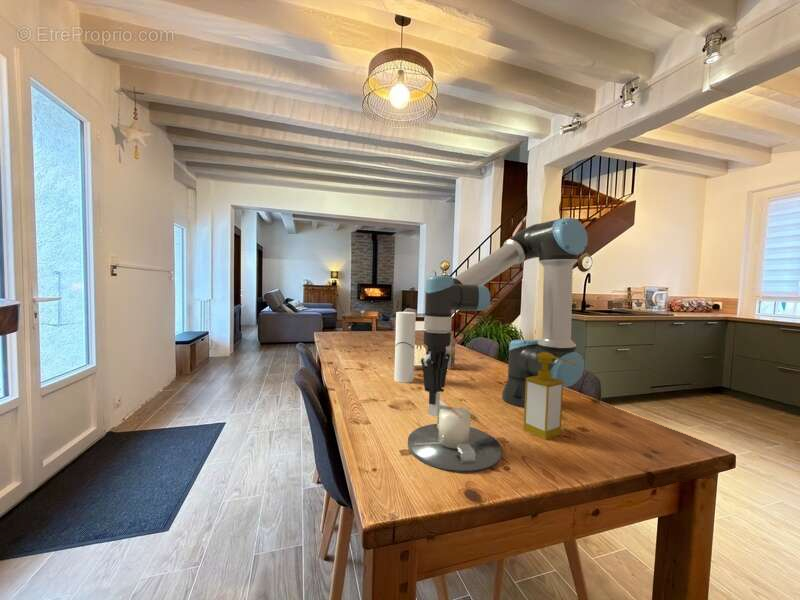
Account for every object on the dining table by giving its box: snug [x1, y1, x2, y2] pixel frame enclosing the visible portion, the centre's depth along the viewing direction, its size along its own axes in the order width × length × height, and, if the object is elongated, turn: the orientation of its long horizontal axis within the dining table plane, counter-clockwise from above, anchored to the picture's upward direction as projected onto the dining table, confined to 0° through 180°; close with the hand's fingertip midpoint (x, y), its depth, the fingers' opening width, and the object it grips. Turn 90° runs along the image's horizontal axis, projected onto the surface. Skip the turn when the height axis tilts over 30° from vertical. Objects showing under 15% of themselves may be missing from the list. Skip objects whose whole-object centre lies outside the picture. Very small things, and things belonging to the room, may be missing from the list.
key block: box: [436, 399, 471, 454], centre depth 87 cm, size 22×8×8 cm, turn 16°
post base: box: [407, 416, 503, 473], centre depth 85 cm, size 24×24×4 cm
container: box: [393, 311, 417, 384], centre depth 145 cm, size 9×9×30 cm
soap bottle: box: [522, 352, 576, 441], centre depth 93 cm, size 7×13×24 cm, turn 32°
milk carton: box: [446, 335, 456, 371], centre depth 172 cm, size 11×11×19 cm
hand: (433, 414), depth 92 cm, fingers closed
